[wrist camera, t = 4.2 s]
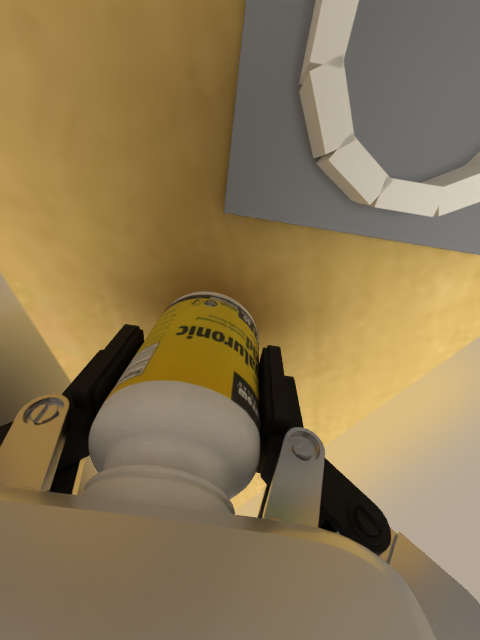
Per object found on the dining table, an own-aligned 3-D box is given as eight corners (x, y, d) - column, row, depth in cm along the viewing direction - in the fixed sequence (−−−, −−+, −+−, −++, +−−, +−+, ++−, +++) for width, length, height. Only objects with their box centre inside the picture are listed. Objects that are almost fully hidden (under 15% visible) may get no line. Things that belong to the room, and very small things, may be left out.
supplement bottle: (279, 332, 14) (318, 595, 5) (215, 381, 16) (170, 621, 7) (202, 265, 12) (73, 497, 3) (143, 331, 14) (-24, 571, 6)
